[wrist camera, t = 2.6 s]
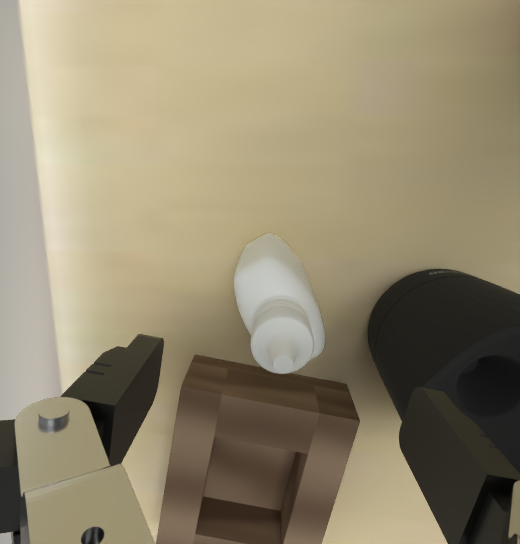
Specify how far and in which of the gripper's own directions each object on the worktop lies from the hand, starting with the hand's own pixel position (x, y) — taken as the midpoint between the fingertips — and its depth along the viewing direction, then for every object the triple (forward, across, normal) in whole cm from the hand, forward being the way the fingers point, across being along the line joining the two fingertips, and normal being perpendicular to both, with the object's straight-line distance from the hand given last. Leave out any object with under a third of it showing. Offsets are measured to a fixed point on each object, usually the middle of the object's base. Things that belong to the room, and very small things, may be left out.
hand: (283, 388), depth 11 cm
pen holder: (+13, -11, +1) cm, 17 cm away
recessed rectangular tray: (+13, -1, +14) cm, 19 cm away
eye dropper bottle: (+13, 0, 0) cm, 13 cm away
